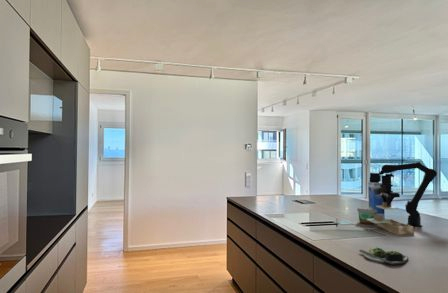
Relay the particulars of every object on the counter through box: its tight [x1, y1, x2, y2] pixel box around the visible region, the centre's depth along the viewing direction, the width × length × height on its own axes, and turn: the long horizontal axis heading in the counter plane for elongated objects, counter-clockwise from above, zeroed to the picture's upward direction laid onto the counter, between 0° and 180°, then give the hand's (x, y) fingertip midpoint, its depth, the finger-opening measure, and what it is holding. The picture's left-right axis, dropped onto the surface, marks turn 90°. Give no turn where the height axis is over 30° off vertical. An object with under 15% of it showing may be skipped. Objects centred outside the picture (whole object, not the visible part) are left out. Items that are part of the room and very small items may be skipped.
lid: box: [376, 202, 399, 211], centre depth 206 cm, size 10×9×4 cm
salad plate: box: [358, 246, 409, 266], centre depth 139 cm, size 19×18×5 cm
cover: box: [366, 214, 390, 224], centre depth 191 cm, size 10×9×4 cm
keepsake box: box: [376, 218, 415, 236], centre depth 187 cm, size 10×20×4 cm, turn 6°
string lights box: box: [367, 180, 386, 219], centre depth 227 cm, size 13×8×26 cm, turn 171°
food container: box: [356, 207, 377, 226], centre depth 204 cm, size 12×6×10 cm, turn 62°
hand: (386, 206), depth 206 cm, fingers closed on lid, 2 cm apart
